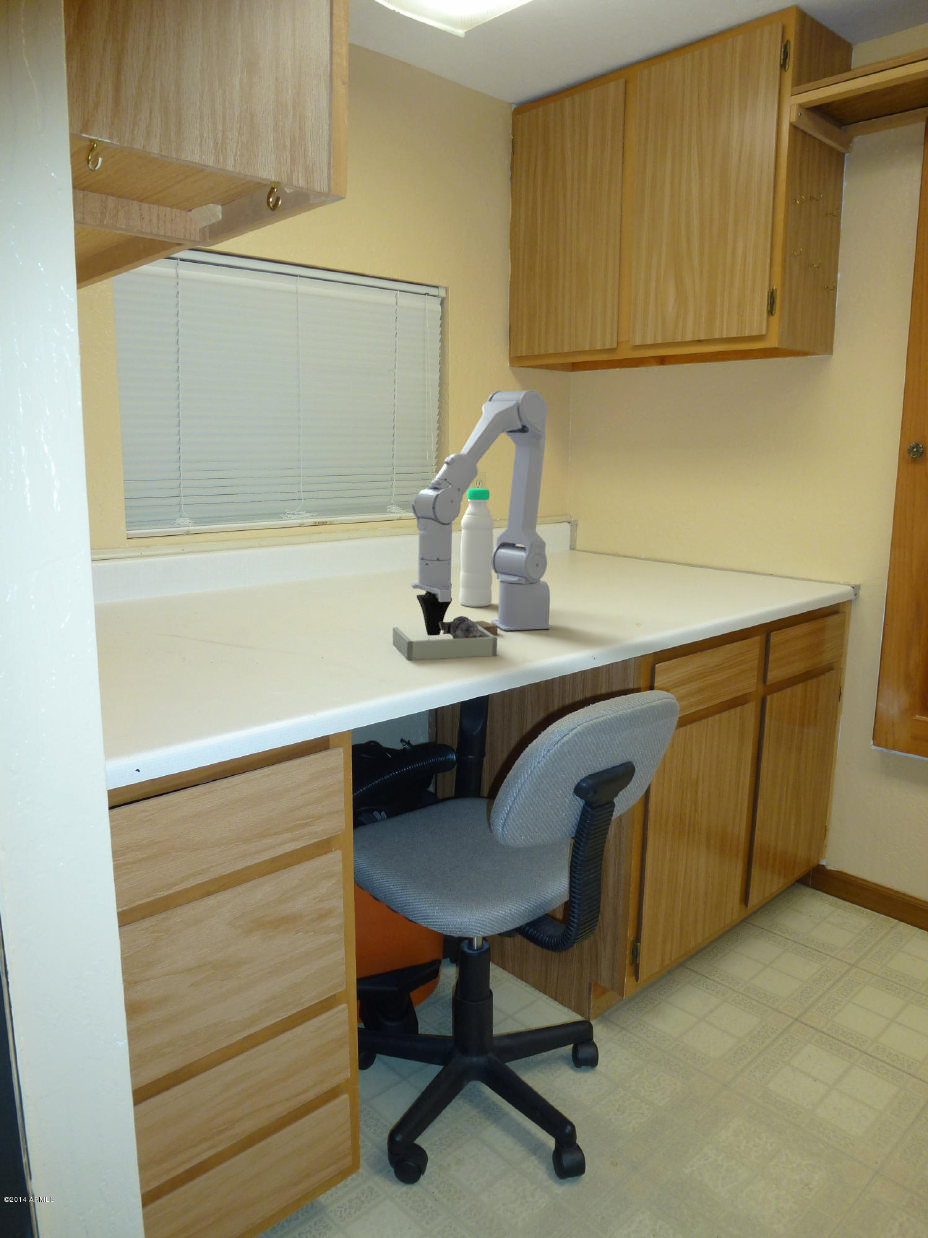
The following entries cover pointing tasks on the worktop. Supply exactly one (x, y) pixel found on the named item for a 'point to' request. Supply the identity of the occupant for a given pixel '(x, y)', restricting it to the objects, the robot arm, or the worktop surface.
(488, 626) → the walnut tile
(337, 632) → the worktop surface
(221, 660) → the worktop surface
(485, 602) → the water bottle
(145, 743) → the worktop surface
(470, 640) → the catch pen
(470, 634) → the seashell
